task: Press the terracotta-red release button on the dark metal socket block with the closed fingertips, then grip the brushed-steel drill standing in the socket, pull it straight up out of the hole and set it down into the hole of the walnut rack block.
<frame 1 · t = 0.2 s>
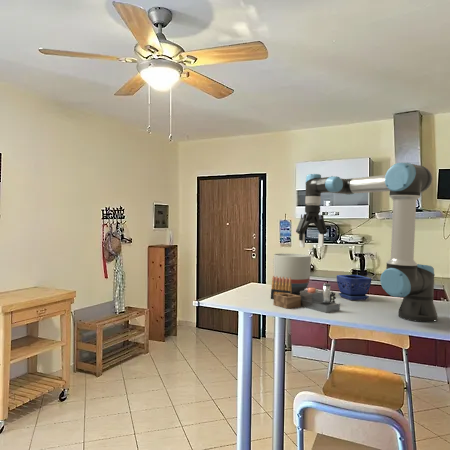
hand: (311, 247, 204), 27 cm above the table, fingers open, 13 cm apart
planter: (291, 293, 226), on the table
valve: (321, 304, 199), on the table
socket block: (317, 307, 188), on the table
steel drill: (326, 310, 184), resting in socket block
release button: (311, 291, 191), point 7 cm above the table, slide at 0.0 cm
walnut rack: (286, 305, 191), on the table
ammunition clip: (281, 300, 206), on the table
flower pot: (353, 299, 215), on the table
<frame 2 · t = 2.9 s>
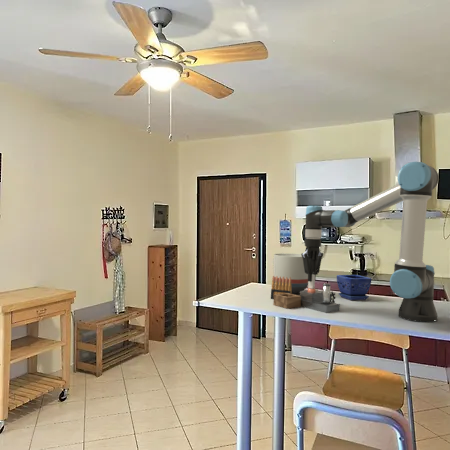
hand: (311, 288, 192), 9 cm above the table, fingers closed
release button: (311, 292, 191), point 7 cm above the table, slide at 0.3 cm, touching gripper
everything else where it was.
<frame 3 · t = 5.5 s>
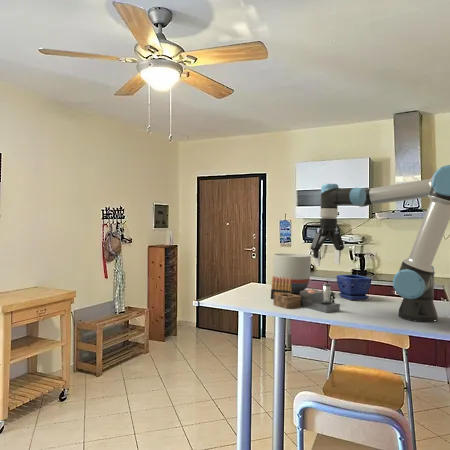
hand: (327, 264, 184), 21 cm above the table, fingers open, 13 cm apart
release button: (311, 294, 191), point 6 cm above the table, slide at 1.4 cm
everything else where it was.
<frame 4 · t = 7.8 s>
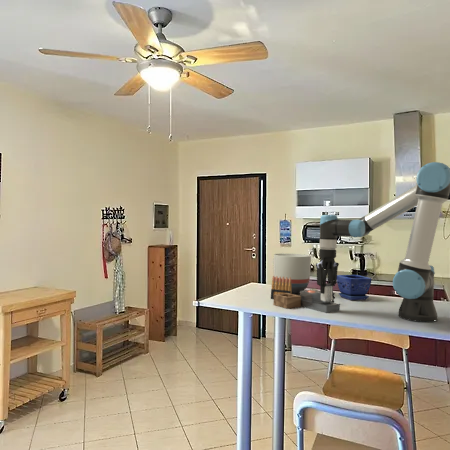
hand: (326, 300, 184), 5 cm above the table, fingers closed on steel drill, 3 cm apart
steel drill: (326, 310, 184), resting in socket block, touching gripper
everything else where it was.
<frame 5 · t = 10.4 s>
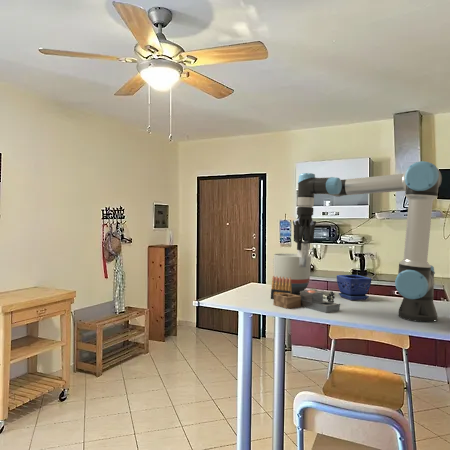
hand: (302, 257, 189), 24 cm above the table, fingers closed on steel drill, 3 cm apart
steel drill: (302, 267, 189), point 19 cm above the table, touching gripper
everything else where it was.
when the fingers open (8 cm above the table, at t = 13.1 s): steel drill drops 3 cm, resting in walnut rack.
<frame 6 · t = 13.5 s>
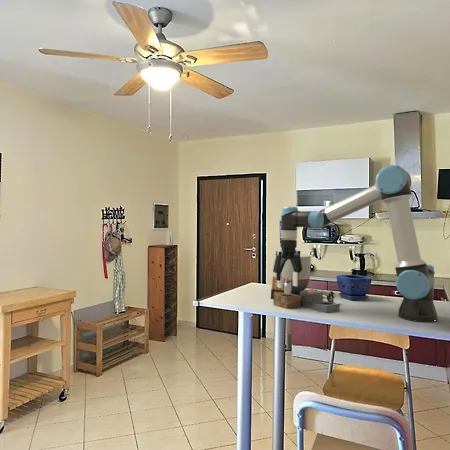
hand: (287, 286, 191), 9 cm above the table, fingers open, 9 cm apart
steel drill: (287, 305, 192), resting in walnut rack
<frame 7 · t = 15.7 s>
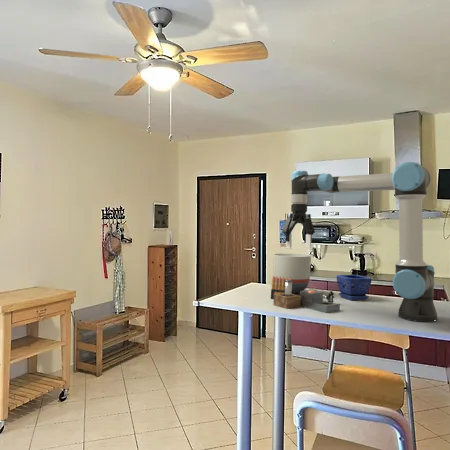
hand: (298, 248, 193), 27 cm above the table, fingers open, 13 cm apart
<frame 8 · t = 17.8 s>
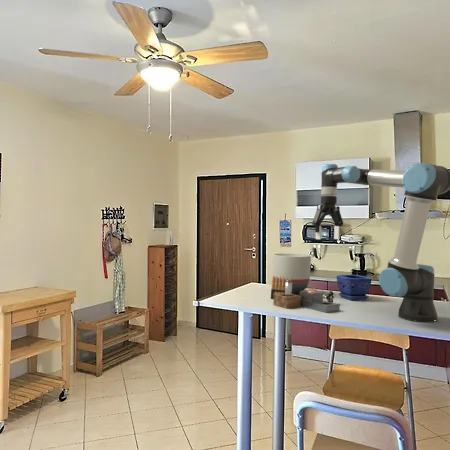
hand: (327, 239, 199), 32 cm above the table, fingers open, 13 cm apart
at the end: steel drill 0.6 cm off-centre on the walnut rack, point 0.0 cm above the walnut rack's base; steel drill tilted 1°; release button slide at 1.4 cm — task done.
